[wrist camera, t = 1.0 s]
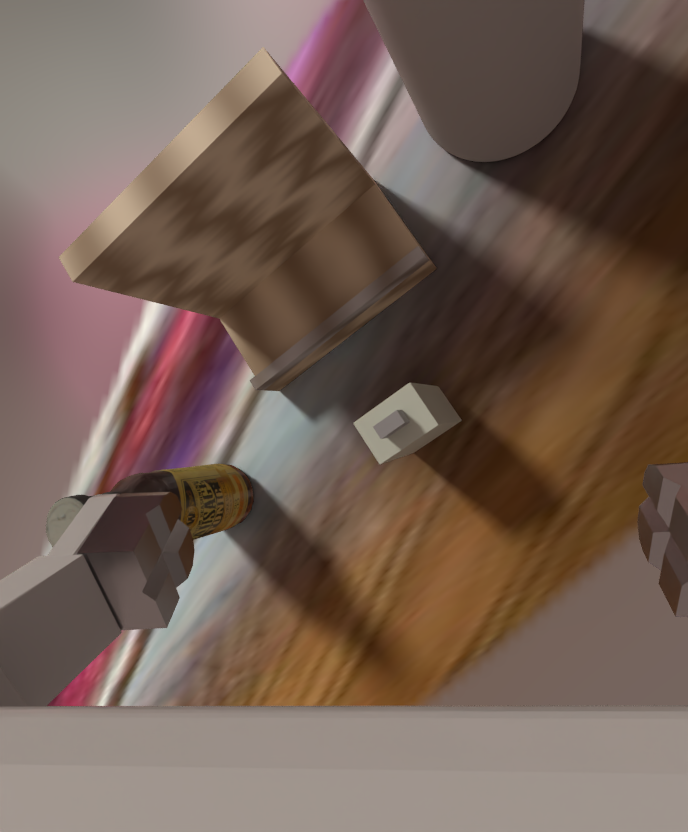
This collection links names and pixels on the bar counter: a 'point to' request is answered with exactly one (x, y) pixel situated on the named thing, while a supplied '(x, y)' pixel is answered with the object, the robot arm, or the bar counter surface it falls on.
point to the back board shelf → (257, 229)
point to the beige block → (406, 421)
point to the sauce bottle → (196, 490)
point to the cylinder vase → (485, 68)
